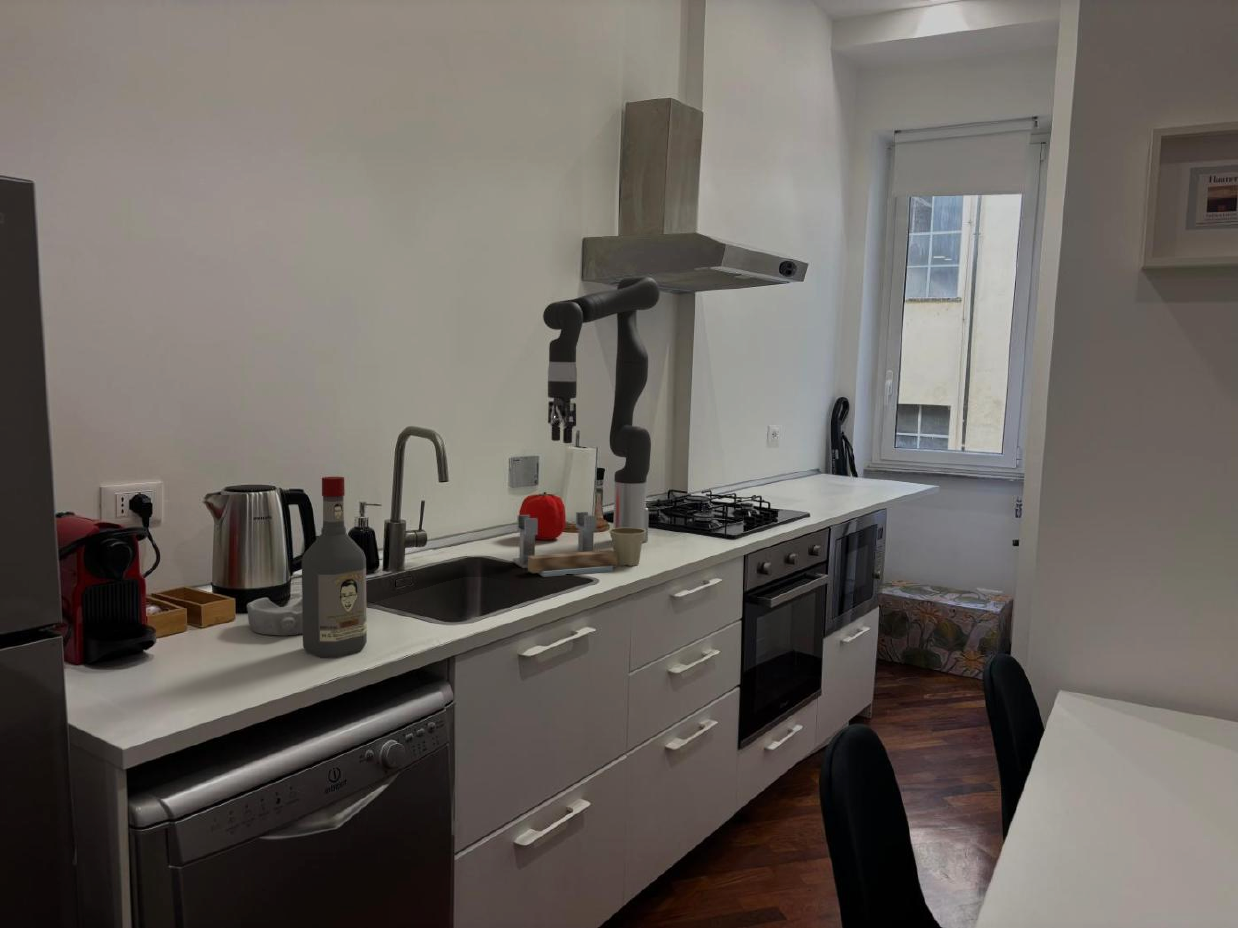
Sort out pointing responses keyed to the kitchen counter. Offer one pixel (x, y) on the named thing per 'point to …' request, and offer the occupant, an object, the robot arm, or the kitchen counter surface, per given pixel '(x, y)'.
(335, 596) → the liquor
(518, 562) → the rack
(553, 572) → the mat
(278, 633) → the dish
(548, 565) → the rail
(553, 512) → the tomato
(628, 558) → the flower pot
